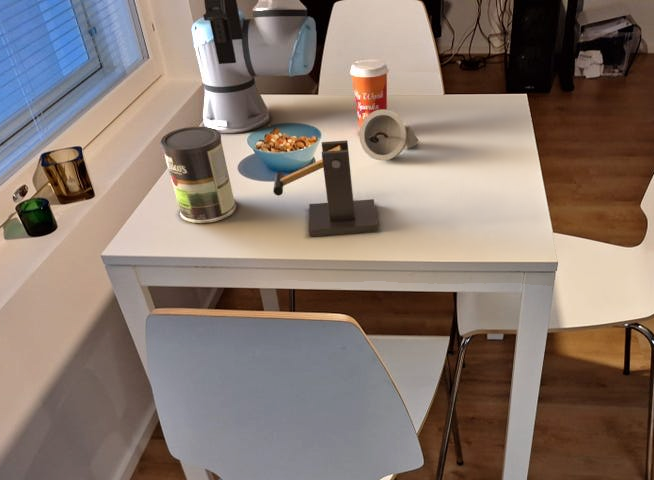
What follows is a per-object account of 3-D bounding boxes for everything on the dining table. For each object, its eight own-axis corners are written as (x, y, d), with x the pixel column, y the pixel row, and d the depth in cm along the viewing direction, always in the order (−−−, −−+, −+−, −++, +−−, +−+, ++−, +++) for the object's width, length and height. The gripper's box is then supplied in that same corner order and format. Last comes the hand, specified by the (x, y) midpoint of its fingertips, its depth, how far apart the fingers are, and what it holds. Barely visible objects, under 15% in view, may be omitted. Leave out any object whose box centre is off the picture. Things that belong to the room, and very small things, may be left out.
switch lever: (277, 199, 114) (270, 187, 113) (279, 183, 119) (272, 172, 117) (347, 167, 112) (340, 154, 110) (345, 152, 116) (339, 140, 115)
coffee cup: (350, 138, 150) (344, 69, 140) (361, 125, 156) (356, 57, 146) (386, 141, 148) (382, 71, 139) (396, 127, 154) (393, 59, 145)
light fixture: (418, 166, 148) (422, 118, 145) (397, 160, 132) (402, 106, 130) (371, 162, 150) (375, 115, 148) (345, 155, 134) (349, 102, 132)
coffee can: (199, 229, 120) (178, 154, 111) (170, 211, 126) (149, 138, 117) (247, 209, 126) (231, 136, 116) (218, 192, 131) (201, 121, 122)
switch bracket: (309, 236, 117) (298, 161, 108) (310, 210, 125) (299, 137, 116) (377, 231, 118) (372, 156, 109) (374, 205, 125) (368, 133, 117)
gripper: (188, -110, 108) (217, 31, 122) (161, -89, 89) (199, 75, 103) (235, -112, 109) (259, 29, 123) (218, -92, 90) (248, 72, 104)
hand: (231, 50), depth 113 cm, fingers open, 13 cm apart
